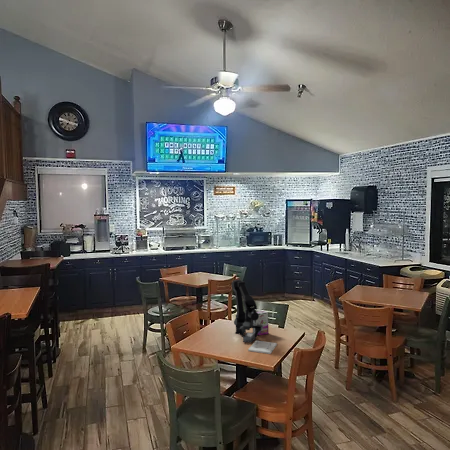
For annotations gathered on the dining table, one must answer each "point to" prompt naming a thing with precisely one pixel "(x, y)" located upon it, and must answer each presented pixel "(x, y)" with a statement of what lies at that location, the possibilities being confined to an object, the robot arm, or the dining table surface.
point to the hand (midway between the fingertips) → (249, 338)
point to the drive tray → (262, 347)
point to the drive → (249, 337)
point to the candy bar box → (262, 322)
